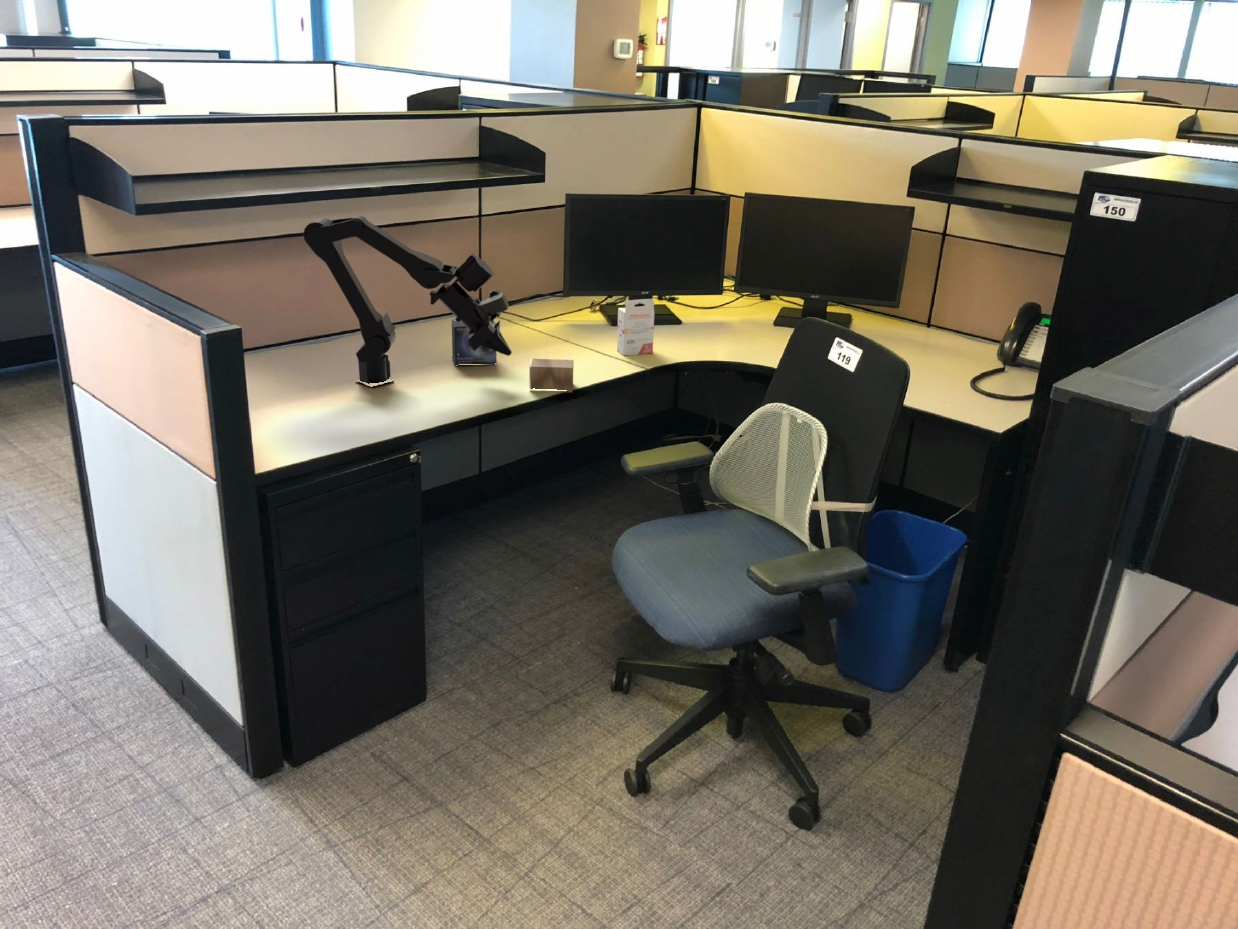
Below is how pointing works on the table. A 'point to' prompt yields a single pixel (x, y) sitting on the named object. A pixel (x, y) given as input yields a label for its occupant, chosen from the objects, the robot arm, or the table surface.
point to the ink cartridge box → (636, 327)
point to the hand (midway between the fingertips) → (510, 354)
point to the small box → (463, 351)
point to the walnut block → (551, 374)
